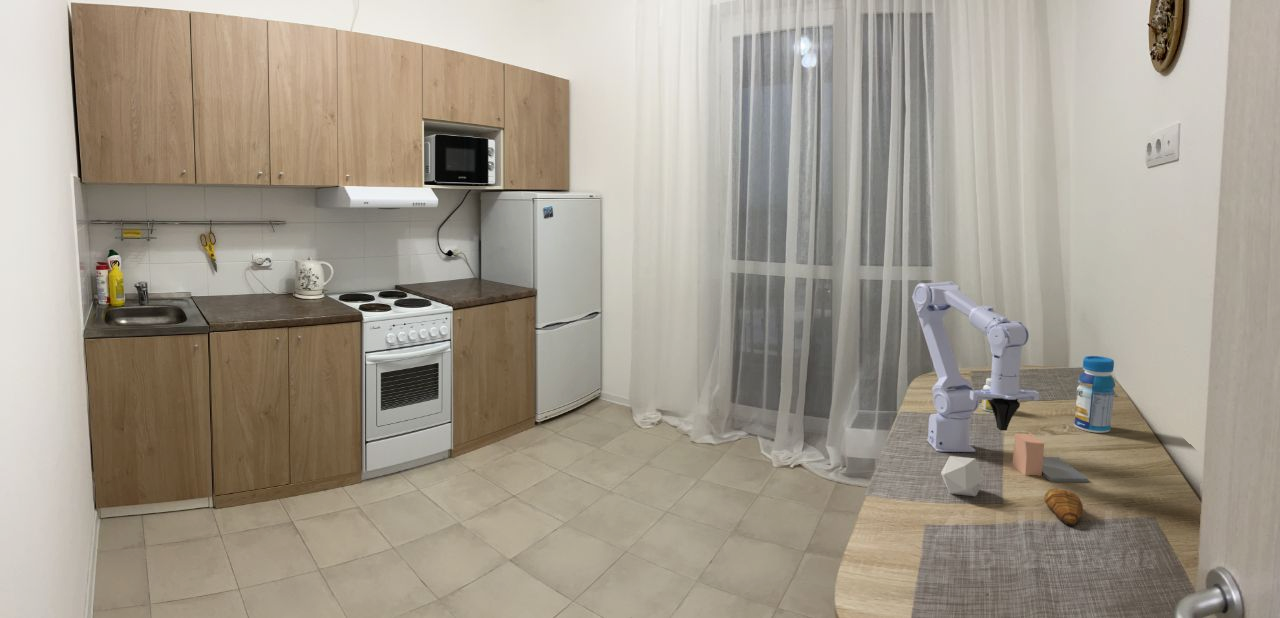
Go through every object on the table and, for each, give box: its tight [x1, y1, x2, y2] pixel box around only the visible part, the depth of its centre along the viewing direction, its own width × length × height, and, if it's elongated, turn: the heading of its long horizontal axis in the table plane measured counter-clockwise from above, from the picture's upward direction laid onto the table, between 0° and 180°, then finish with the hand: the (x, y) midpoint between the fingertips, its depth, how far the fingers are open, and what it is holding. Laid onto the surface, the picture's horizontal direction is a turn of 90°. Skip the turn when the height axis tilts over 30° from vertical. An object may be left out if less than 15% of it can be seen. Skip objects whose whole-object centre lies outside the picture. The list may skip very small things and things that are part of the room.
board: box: [1042, 456, 1089, 483], centre depth 146 cm, size 8×12×1 cm, turn 174°
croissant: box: [1043, 488, 1084, 527], centre depth 127 cm, size 14×7×5 cm, turn 159°
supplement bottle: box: [981, 377, 994, 413], centre depth 187 cm, size 5×5×10 cm
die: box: [940, 455, 986, 497], centre depth 137 cm, size 8×9×10 cm
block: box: [1012, 433, 1045, 477], centre depth 146 cm, size 4×6×8 cm, turn 174°
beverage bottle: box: [1073, 355, 1116, 434], centre depth 169 cm, size 8×8×20 cm
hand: (1001, 428), depth 146 cm, fingers closed
